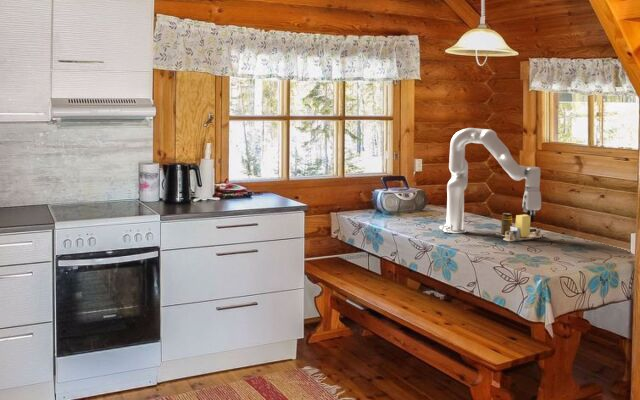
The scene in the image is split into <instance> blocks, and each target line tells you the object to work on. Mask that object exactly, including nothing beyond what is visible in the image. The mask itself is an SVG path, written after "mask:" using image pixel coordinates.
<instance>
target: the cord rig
mask: <svg viewBox="0 0 640 400" xmlns="http://www.w3.org/2000/svg"><path fill="white" fill-rule="evenodd" d="M530 233H531V234H530V236H525V237H520V239H514V238H513V234H515V232H514V231H506V232H505V236H504V238H503V239H502V240H503V241H506V242H515V241H524V240H533V239H539V238H540V237H541V238H543V236H542V235H541V228H539V227H533V228H530Z"/></svg>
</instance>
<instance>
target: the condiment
mask: <svg viewBox="0 0 640 400" xmlns="http://www.w3.org/2000/svg"><path fill="white" fill-rule="evenodd" d="M501 216H502V217H501V222H500V224H501V226H500V232H497V233H496V232H495V233H494V234H495V235H499V236H502V237H505V232H506V231H510V226H513V214H512V213H509V212H504V213H502V215H501Z"/></svg>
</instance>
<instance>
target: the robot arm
mask: <svg viewBox="0 0 640 400" xmlns="http://www.w3.org/2000/svg"><path fill="white" fill-rule="evenodd" d="M471 143H473V144H482V145H483V146H484V148H486V149H487V151H488V152H489V153H490V154H491V155H492V156H493V157H494V159H496V161H497V162H498V164H499V165H500V166H501V167H502V169H503V170H504V171H505V172H506V173H507V174H508V176H509V177H510V178H511V179H512V180H514V181H518V182H519V181H521V180H523V179H525V187H524V194H523V198H522V209H523V211H522V212H524V213H526V215H529V216H531V219H530V223H534V221H535V216H536V213H537V212H539V211H540V210H541V209H542V195H541V193H542V192H541V191H540V188H541V187H540V186H541V168H540V167H538V166H525V165H519V164H518V163H517V161H516V160H515V159H514V158H513V156H512V154H511V152H510V150H509V148H508V146H507V145H505V144H504V143H503V141H502V140H501V139H500V138H499V137H498V135H497V132H496V131H495V130H492V129H491V128H490V129H486V128H474V127H467V128H463V129H461V130H459V131H457V132H455V134H454V135H453V136H452V138H451V140H450V144H449V145H450V146H449V158H448V159H449V160H448V161H449V162H448V169H449V172H450V173H451V177H450V179H449V181H448V182H447V185H446V193H447V195H446V196H447V198H446V223H444V225H439V229H440V230H443V232H444V233H449V234H450V233H451V234H464V233H466V229H465V228H464V214H465V213H464V211H465V190H466V189H467V187H468V178H469V176H468V175H469V163H468V160H466V158H465V157H466V156H465V155H466V145H468V144H471Z"/></svg>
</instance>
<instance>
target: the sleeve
mask: <svg viewBox="0 0 640 400" xmlns="http://www.w3.org/2000/svg"><path fill="white" fill-rule="evenodd" d="M530 219H531V216H529V215H527V214H524V213H523V214H516V215H515V225H514V226H515V227H519V228H520V237H525V236H530V235H531V232H530V229H531V222H530Z"/></svg>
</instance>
